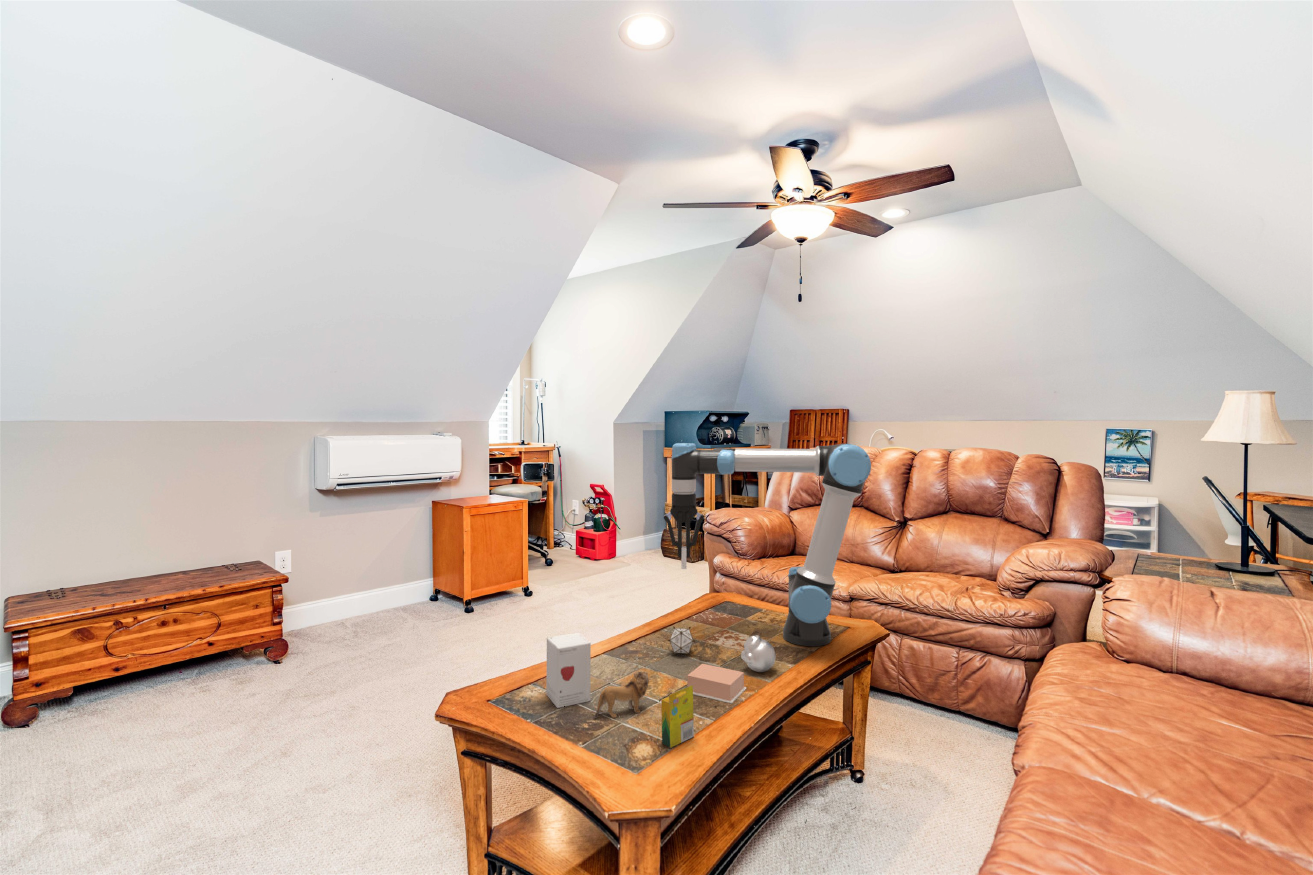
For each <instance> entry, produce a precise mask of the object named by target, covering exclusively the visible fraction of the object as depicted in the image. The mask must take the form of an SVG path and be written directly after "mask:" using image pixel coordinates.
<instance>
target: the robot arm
mask: <svg viewBox="0 0 1313 875" xmlns="http://www.w3.org/2000/svg"><path fill="white" fill-rule="evenodd" d="M670 459H671V491H672V492H673V493H671V508H670V511H669V512H668V513H666V514H663V519H664V521H665V523H666V524H667V529H668V534H669V537H670V540H671V545H672V546H673V547H676V548H677V558H678V559H680V558H681V559H680V561H681V566H680V569H682V570H687V559H690V557H691V548H692V547H693V546H694V547H695V546H696V545H697V541H698V538H699V533H700V528H701V525H702V522H704V521H703V520H705V515H704V514H703V513H700V512H698V511H699V510H698V508H697V498H696V496H697V494H696V493H695V492H696V491H697V477H696V476H697V474H699V475H701V474H702V475H704V474H705V475H723V476H725V475H733V474H734V472H762V473H764V472H765V473H808V474H809V473H810V474H811V473H812V474H815V475H816V476H817V477H823V478H822V482H821V485H822V486H823V488H824V494H823V498H822V500H821V504H820V508H819V511H818V515H817V518H816V520H815V521H816V522H815V525H814V528H813V532H812V535H811V540H810V543H809V546H808V550H807V553H806V557H805V561H804V564H803V566H792V567H790V568H789V569H788V574H787V577H788V613H787V617H786V620H785V623H784V626H783V630H782V638H783V640H785V641H786V642H788V643H791V644H794V645H796V646H803V647H821V646H822V647H823V646H826V645H828V644H829V643H831V642H832V632H831V629H830V626H829V623H828V620H827V618H828V616H829V614H830V613H831V610H832V598H833V592H834V590H835V586H836V583H837V582H836V580H835V578H834V576H833V574H834V571H835V567H836V563H837V561H838V556H839V554H840V553H839V552H840V550H841V545H842V542H843V539H844V535H845V532H846V528H847V525H848V521H849V518H850V515H851V511H852V507H853V504H854V501H855V499H856V498H857V497H859V496H861V495H862V493H863V489H864V486H865V483H866V482H865V481H867V479H868V478H869V476H870V475H871V470H872V461H871V458H870V456H869V454H868V452H867V451H865V449H864V448H862V447H861V446H859V445H856V444H852V443H839V444H832V445H817V446H816V447H814V448H751V447H750V448H748V447H747V448H745V447H744V448H742V447H741V448H740V447H736V448H733V447H732V448H729V447H727V448H726V447H716V448H714V449H699V448H698V449H697V446H696V443H691V442H690V443H687V442H676V443H674V444H673V445H672V447H671V458H670ZM672 518H673V519H674V520H675V521H676V522H677V541H676V538H675V533H674V529H673V524H672V521H671V520H672ZM695 518H696V522H695V527H694V530H693V531H694V532H693V536H692V539H691V522H692V521H693V520H694V519H695ZM683 523H685V546H683V543H682V542H683V538H682V537H683Z"/></svg>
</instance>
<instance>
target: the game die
mask: <svg viewBox="0 0 1313 875" xmlns="http://www.w3.org/2000/svg"><path fill="white" fill-rule="evenodd" d="M672 627H673V631H672V633H671V635H670V638H669V639H667V642H669V643H670V646H671V649H672V656H674V655H676V654H688V656H691V653H690V651H691V650H692V646H693V645H694V643H696V642H697V641H696V640H694V638H693V635H692V633H691V628H692V627H691V626H689V627H688V628H682V627H681V628H679V627H678V628H677V627H676V626H674V625H673V626H672Z"/></svg>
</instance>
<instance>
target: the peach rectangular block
mask: <svg viewBox="0 0 1313 875" xmlns="http://www.w3.org/2000/svg"><path fill="white" fill-rule="evenodd" d="M744 678H745V672H742V671H739V670H736V669H735V670H734V669H729V668H724V667H720V666H715V665H710V664H705V663H702V664H700V665H699V666H698V667H696V668H694V669H693V670H692V671H691V672H690V673H689V674H687V683H686V684H687V686H686V688H687V687H689V686H692V685H693V692H695V693H699V694H703V695H708V696H712V697H716V698H720V699H724V700H729V701H731V700H732V699H733V698H734V697H735V696H736V695H737V694H738V693H739V692H740V691H741V690H742V689H743V688H744V687H745V682H744V681H745V679H744Z"/></svg>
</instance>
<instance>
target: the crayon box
mask: <svg viewBox="0 0 1313 875" xmlns="http://www.w3.org/2000/svg"><path fill="white" fill-rule="evenodd" d="M660 701H661V702H660V703H661V704H660V705H661V706H660V707H661V709H660V710H661V744H663V745H664V746H666V747H668V748H669V749H672V748H674V747H675V746H677V745H679V744H681V743H684V742H686V741H688V740H689V739H693V738H694V737H695V728H694V727H695V726H694V723H695V722H694V719H695V718H694V694H693V685H692V686H689V687H687V686H686V687H684V688H682V689H680V690H676V691H673V693H670V694H668V696H667V697H665V698H663V699H661V700H660Z"/></svg>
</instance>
